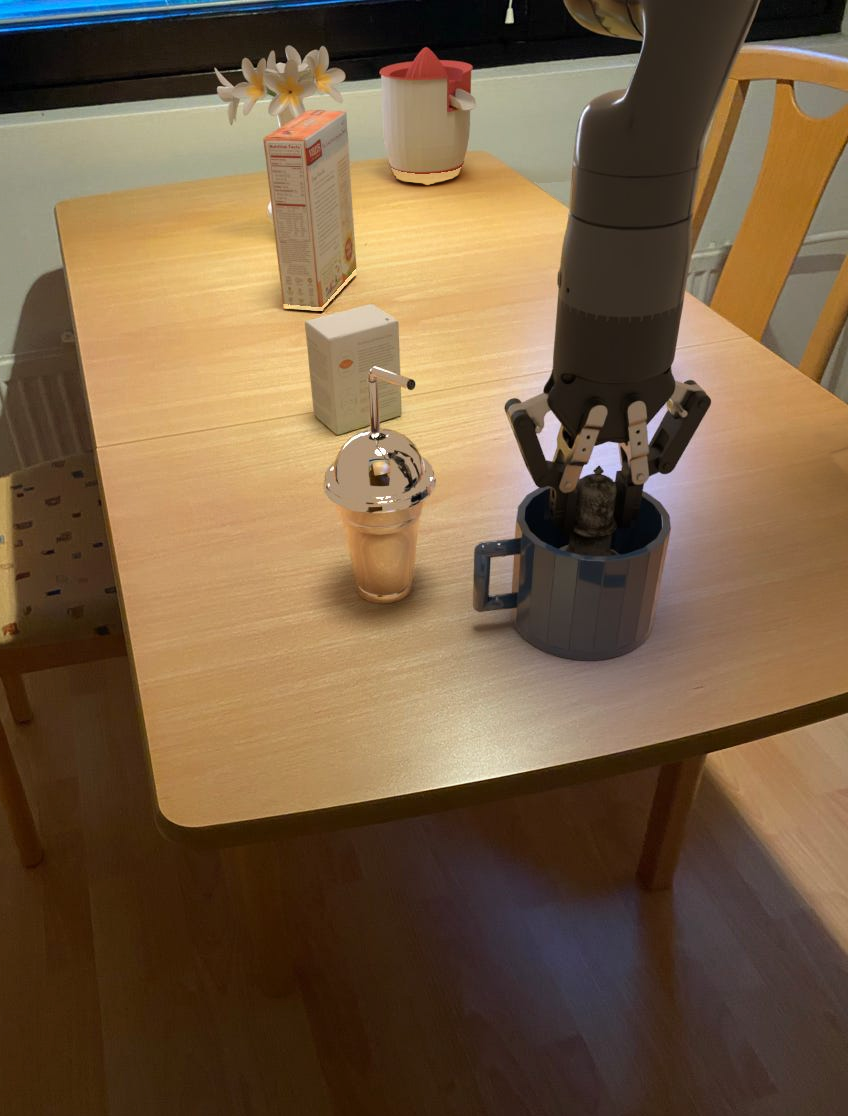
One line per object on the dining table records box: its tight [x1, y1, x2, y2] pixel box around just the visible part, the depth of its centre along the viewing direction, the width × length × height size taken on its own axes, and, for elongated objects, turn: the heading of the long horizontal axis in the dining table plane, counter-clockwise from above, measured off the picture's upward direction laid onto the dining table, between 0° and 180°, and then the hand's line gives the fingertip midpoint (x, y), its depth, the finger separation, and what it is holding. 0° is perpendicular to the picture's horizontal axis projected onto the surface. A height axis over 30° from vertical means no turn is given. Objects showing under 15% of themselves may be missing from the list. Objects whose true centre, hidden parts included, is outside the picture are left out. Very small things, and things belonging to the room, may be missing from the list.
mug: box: [472, 477, 672, 661], centre depth 72 cm, size 14×11×9 cm
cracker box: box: [262, 109, 357, 307], centre depth 124 cm, size 14×6×21 cm, turn 161°
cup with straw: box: [322, 366, 437, 604], centre depth 72 cm, size 8×9×20 cm
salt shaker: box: [559, 465, 620, 556], centre depth 70 cm, size 6×6×12 cm
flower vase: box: [214, 45, 346, 227], centre depth 142 cm, size 13×18×25 cm
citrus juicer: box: [379, 46, 477, 174], centre depth 165 cm, size 16×17×20 cm
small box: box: [304, 303, 403, 436], centre depth 99 cm, size 8×6×10 cm
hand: (592, 524), depth 69 cm, fingers closed on salt shaker, 3 cm apart
